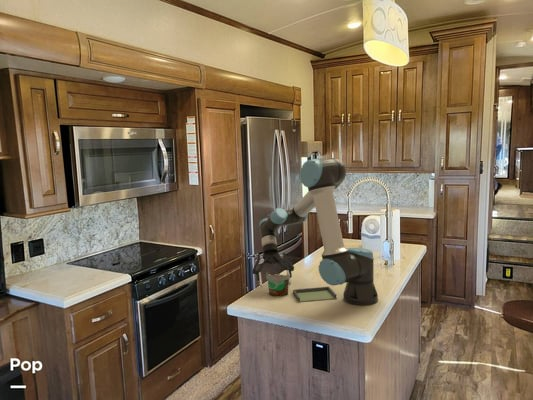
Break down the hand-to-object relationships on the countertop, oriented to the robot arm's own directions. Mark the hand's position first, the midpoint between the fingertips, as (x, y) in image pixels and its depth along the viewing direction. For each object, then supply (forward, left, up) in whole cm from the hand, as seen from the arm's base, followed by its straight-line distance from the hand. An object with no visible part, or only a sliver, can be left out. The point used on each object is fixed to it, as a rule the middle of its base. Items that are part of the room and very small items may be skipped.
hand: (275, 285), depth 193 cm
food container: (+1, 0, -5) cm, 6 cm away
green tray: (-5, -17, -5) cm, 19 cm away
